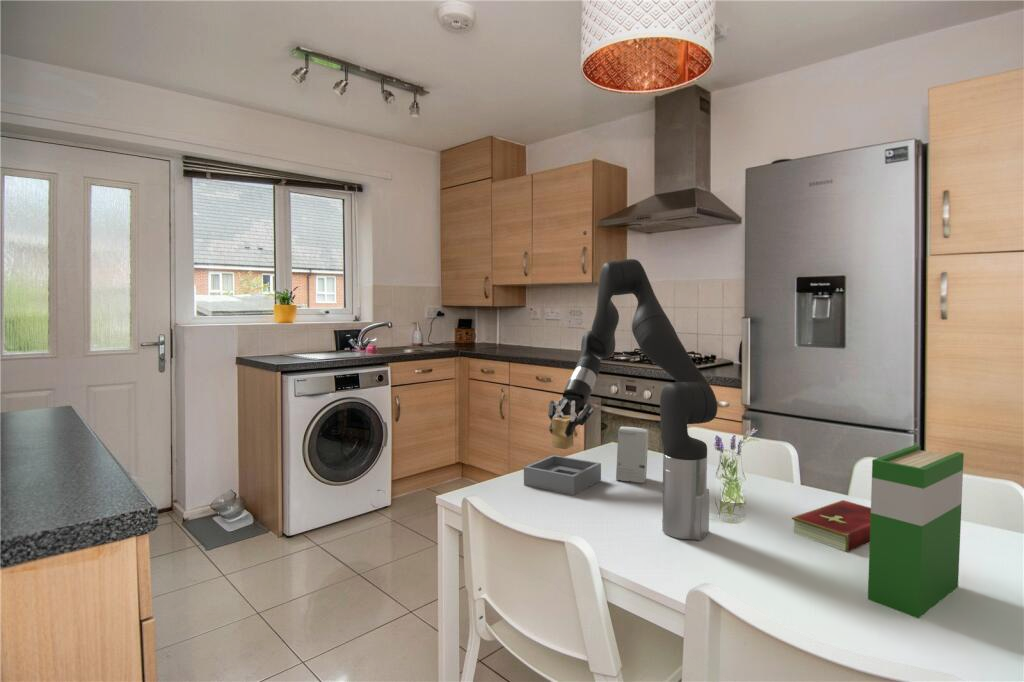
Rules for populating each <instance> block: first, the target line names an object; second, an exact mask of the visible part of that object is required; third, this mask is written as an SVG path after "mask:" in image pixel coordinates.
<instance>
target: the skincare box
mask: <svg viewBox="0 0 1024 682" xmlns="http://www.w3.org/2000/svg"><path fill="white" fill-rule="evenodd" d="M649 431H650V430H649V429H648V428H640V427H633V426H623V425H622V426H620V427H619V428H618V432H617V433H618V434H617V447H616V448H617V452H616V467H615V469H616V472H615V475H616V476H615V479H616V481H618V480H621V481H622V482H629V481H631V483H639V484H644V483H645V481H646V480H645V479H647V470H648V469H647V468H648V449H649V448H648V447H649Z"/></svg>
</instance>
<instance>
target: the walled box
mask: <svg viewBox="0 0 1024 682" xmlns="http://www.w3.org/2000/svg"><path fill="white" fill-rule="evenodd" d="M601 480H602V463H601V462H598V461H597V462H596V461H589V460H585V459H580V458H573V457H567V456H561V455H555V454H553V455H550V456H548V457H545V458H542V459H541V460H538V461H536V462H533V463H531V464H528V465H525V466H524V467H523V485H524V486H528V485H529V486H528V487H533V486H534V488H537V487H538V488H537V489H542V488H543V489H544V490H547V489H548V490H547V491H552V490H553V491H552V492H556V491H557V492H556V493H561V492H562V493H563V494H567V495H571V496H575V495H577V494H579V493H581V492H582V491H584V490H586V489H588V488H589V486H590V487H591V486H593V485H595V484H596V482H597V483H599V482H601ZM598 481H599V482H598ZM594 483H595V484H594ZM587 487H588V488H587ZM543 489H542V490H543ZM580 491H581V492H580Z"/></svg>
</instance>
